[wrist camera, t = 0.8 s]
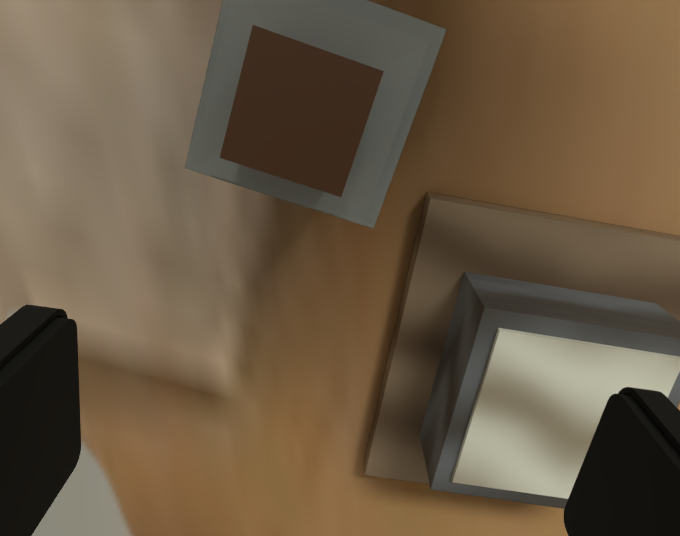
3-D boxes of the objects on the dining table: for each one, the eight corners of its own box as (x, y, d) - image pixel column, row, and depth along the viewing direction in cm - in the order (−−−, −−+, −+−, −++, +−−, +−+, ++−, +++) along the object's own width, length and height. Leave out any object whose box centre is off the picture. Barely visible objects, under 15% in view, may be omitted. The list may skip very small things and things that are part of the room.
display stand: (426, 192, 32) (447, 225, 26) (714, 242, 33) (801, 285, 27) (363, 460, 39) (368, 537, 33) (602, 494, 40) (650, 575, 34)
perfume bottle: (402, 41, 29) (481, 19, 13) (361, 160, 32) (382, 276, 15) (281, -3, 29) (195, -87, 12) (248, 123, 31) (137, 200, 14)
